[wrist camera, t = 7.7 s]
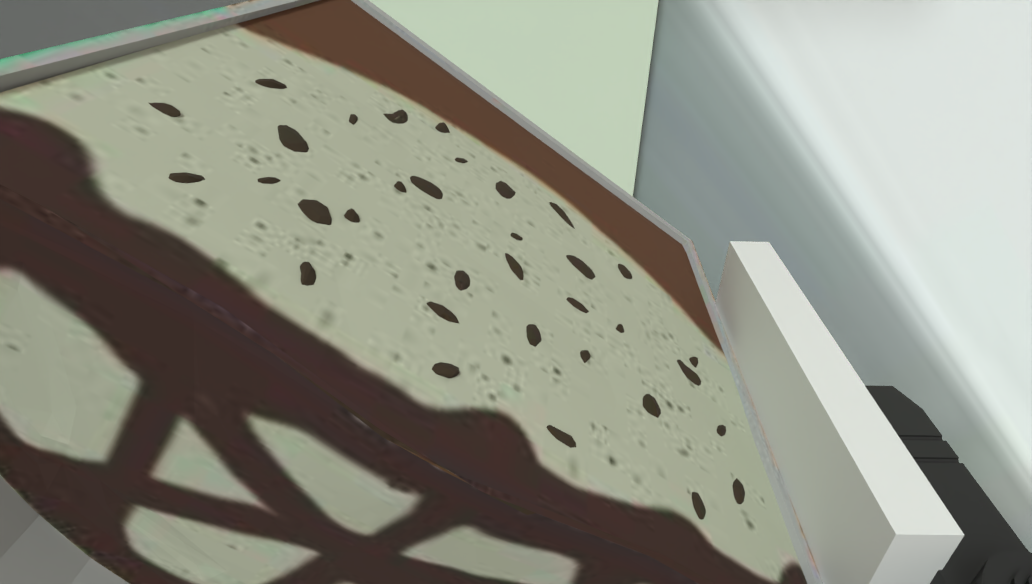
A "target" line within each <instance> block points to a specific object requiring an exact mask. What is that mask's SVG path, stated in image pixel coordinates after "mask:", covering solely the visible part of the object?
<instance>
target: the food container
mask: <svg viewBox="0 0 1032 584" xmlns="http://www.w3.org/2000/svg"><path fill="white" fill-rule="evenodd" d="M715 304H716V302H715V299H714V297H713V294H712V291H711V289H710V286H709V284H708V281H707V278H706V276H705V273H704V271H703V268H702V265H701V263H700V260H699V258H698V255H697V252H696V250H695V247H694V244H693V242H692V240H690V239H689V238H688V237H686V236H685V235H684V234H682V233H681V232H680V231H678V230H677V229H675V228H674V227H673V226H671V225H670V224H669V223H667V222H666V221H665V220H663V219H662V218H661V217H659V216H658V215H657V214H655V213H654V212H653V211H651V210H650V209H649V208H647V207H646V206H645V205H643V204H642V203H641V202H639V201H638V200H636V199H635V198H634V197H632V196H631V195H630V194H628V193H627V192H626V191H624V190H623V189H622V188H620V187H619V186H618V185H616V184H615V183H614V182H612V181H611V180H610V179H608V178H607V177H606V176H604V175H603V174H602V173H600V172H599V171H598V170H596V169H595V168H593V167H592V166H591V165H589V164H588V163H587V162H585V161H584V160H583V159H581V158H580V157H579V156H577V155H576V154H575V153H573V152H572V151H571V150H569V149H568V148H567V147H565V146H564V145H563V144H561V143H560V142H559V141H557V140H556V139H554V138H553V137H552V136H550V135H549V134H548V133H546V132H545V131H544V130H542V129H541V128H540V127H538V126H537V125H536V124H534V123H533V122H532V121H530V120H529V119H528V118H526V117H525V116H524V115H522V114H521V113H520V112H518V111H517V110H515V109H514V108H513V107H511V106H510V105H509V104H507V103H506V102H505V101H503V100H502V99H501V98H499V97H498V96H497V95H495V94H494V93H493V92H491V91H490V90H489V89H487V88H486V87H485V86H483V85H482V84H481V83H479V82H478V81H477V80H475V79H474V78H472V77H471V76H470V75H468V74H467V73H466V72H464V71H463V70H462V69H460V68H459V67H458V66H456V65H455V64H454V63H452V62H451V61H450V60H448V59H447V58H446V57H444V56H443V55H442V54H440V53H439V52H438V51H436V50H435V49H433V48H432V47H431V46H429V45H428V44H427V43H425V42H424V41H423V40H421V39H420V38H419V37H417V36H416V35H415V34H413V33H412V32H411V31H409V30H408V29H407V28H405V27H404V26H403V25H401V24H400V23H399V22H397V21H396V20H394V19H393V18H392V17H390V16H389V15H388V14H386V13H385V12H384V11H382V10H381V9H380V8H378V7H377V6H376V5H374V4H373V3H372V2H370V1H369V0H250V1H246V2H241V3H237V4H233V5H229V6H224V7H220V8H216V9H212V10H207V11H203V12H199V13H195V14H190V15H186V16H182V17H178V18H173V19H169V20H165V21H161V22H156V23H152V24H148V25H144V26H139V27H135V28H131V29H127V30H122V31H118V32H114V33H110V34H105V35H101V36H97V37H93V38H88V39H84V40H80V41H75V42H71V43H67V44H63V45H58V46H54V47H50V48H46V49H41V50H37V51H33V52H29V53H24V54H20V55H16V56H12V57H7V58H3V59H0V584H823V582H822V579H821V577H820V574H819V571H818V569H817V566H816V564H815V561H814V559H813V556H812V553H811V551H810V548H809V546H808V543H807V540H806V538H805V535H804V533H803V530H802V528H801V525H800V522H799V520H798V517H797V515H796V512H795V509H794V507H793V504H792V502H791V499H790V497H789V494H788V491H787V489H786V486H785V484H784V481H783V478H782V476H781V473H780V471H779V468H778V466H777V463H776V460H775V458H774V455H773V453H772V450H771V447H770V445H769V442H768V440H767V437H766V434H765V432H764V429H763V427H762V424H761V422H760V419H759V416H758V414H757V411H756V409H755V406H754V403H753V401H752V398H751V396H750V393H749V391H748V388H747V385H746V383H745V380H744V378H743V375H742V372H741V370H740V367H739V365H738V362H737V360H736V357H735V354H734V352H733V349H732V347H731V344H730V341H729V339H728V336H727V334H726V331H725V329H724V326H723V323H722V321H721V318H720V316H719V313H718V310H717V308H716V305H715Z"/></svg>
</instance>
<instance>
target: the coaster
mask: <svg viewBox="0 0 1032 584" xmlns="http://www.w3.org/2000/svg"><path fill="white" fill-rule="evenodd" d="M369 1H370V2H372V3H373V4H374V5H376V6H377V7H378V8H380V9H381V10H382V11H384V12H385V13H386V14H388V15H389V16H390V17H392V18H393V19H394V20H396V21H397V22H399V23H400V24H401V25H403V26H404V27H405V28H407V29H408V30H409V31H411V32H412V33H413V34H415V35H416V36H417V37H419V38H420V39H421V40H423V41H424V42H425V43H427V44H428V45H429V46H431V47H432V48H433V49H435V50H436V51H438V52H439V53H440V54H442V55H443V56H444V57H446V58H447V59H448V60H450V61H451V62H452V63H454V64H455V65H456V66H458V67H459V68H460V69H462V70H463V71H464V72H466V73H467V74H468V75H470V76H471V77H472V78H474V79H475V80H477V81H478V82H479V83H481V84H482V85H483V86H485V87H486V88H487V89H489V90H490V91H491V92H493V93H494V94H495V95H497V96H498V97H499V98H501V99H502V100H503V101H505V102H506V103H507V104H509V105H510V106H511V107H513V108H514V109H515V110H517V111H518V112H520V113H521V114H522V115H524V116H525V117H526V118H528V119H529V120H530V121H532V122H533V123H534V124H536V125H537V126H538V127H540V128H541V129H542V130H544V131H545V132H546V133H548V134H549V135H550V136H552V137H553V138H554V139H556V140H557V141H559V142H560V143H561V144H563V145H564V146H565V147H567V148H568V149H569V150H571V151H572V152H573V153H575V154H576V155H577V156H579V157H580V158H581V159H583V160H584V161H585V162H587V163H588V164H589V165H591V166H592V167H593V168H595V169H596V170H598V171H599V172H600V173H602V174H603V175H604V176H606V177H607V178H608V179H610V180H611V181H612V182H614V183H615V184H616V185H618V186H619V187H620V188H622V189H623V190H624V191H626V192H627V193H628V194H630V195H631V196H632V197H633V190H634V183H635V175H636V167H637V160H638V152H639V145H640V137H641V129H642V122H643V114H644V107H645V99H646V91H647V84H648V76H649V69H650V61H651V54H652V46H653V38H654V31H655V23H656V16H657V8H658V0H369Z"/></svg>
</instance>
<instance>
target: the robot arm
mask: <svg viewBox="0 0 1032 584" xmlns="http://www.w3.org/2000/svg"><path fill="white" fill-rule="evenodd" d="M715 305H716V308H717V310H718V313H719V316H720V318H721V321H722V323H723V326H724V329H725V331H726V334H727V336H728V339H729V341H730V344H731V347H732V349H733V352H734V354H735V357H736V360H737V362H738V365H739V367H740V370H741V372H742V375H743V378H744V380H745V383H746V385H747V388H748V391H749V393H750V396H751V398H752V401H753V403H754V406H755V409H756V411H757V414H758V416H759V419H760V422H761V424H762V427H763V429H764V432H765V434H766V437H767V440H768V442H769V445H770V447H771V450H772V453H773V455H774V458H775V460H776V463H777V466H778V468H779V471H780V473H781V476H782V478H783V481H784V484H785V486H786V489H787V491H788V494H789V497H790V499H791V502H792V504H793V507H794V509H795V512H796V515H797V517H798V520H799V522H800V525H801V528H802V530H803V533H804V535H805V538H806V540H807V543H808V546H809V548H810V551H811V553H812V556H813V559H814V561H815V564H816V566H817V569H818V571H819V574H820V577H821V579H822V582H823V584H1032V553H1030V552H1029V551H1028V550H1027V549H1026V548H1025V546H1024V545H1023V544H1022V542H1021V541H1020V540H1019V538H1018V537H1017V535H1016V534H1015V533H1014V531H1013V530H1012V529H1011V527H1010V526H1009V525H1008V523H1007V522H1006V521H1005V519H1004V518H1003V517H1002V515H1001V514H1000V513H999V511H998V510H997V509H996V507H995V506H994V505H993V503H992V502H991V501H990V499H989V498H988V497H987V495H986V494H985V492H984V491H983V490H982V488H981V487H980V486H979V484H978V483H977V482H976V480H975V479H974V478H973V476H972V475H971V474H970V472H969V471H968V470H967V468H966V467H965V466H964V464H963V463H959V462H958V456H957V455H956V454H955V452H954V451H953V449H952V448H951V447H950V445H949V444H948V443H947V441H943V440H942V435H941V433H940V432H939V431H938V429H937V428H936V427H935V425H934V424H933V423H932V421H931V420H930V419H929V417H928V416H927V415H926V413H925V412H924V410H923V409H922V408H920V407H919V406H918V405H917V404H915V403H914V402H913V401H911V400H910V399H909V398H907V397H906V396H905V395H904V394H902V393H901V392H900V391H898V390H897V389H896V388H894V387H893V386H865V385H864V384H863V382H862V381H861V379H860V378H859V376H858V375H857V373H856V372H855V370H854V369H853V367H852V366H851V364H850V363H849V361H848V360H847V358H846V357H845V355H844V354H843V352H842V351H841V349H840V348H839V346H838V345H837V343H836V342H835V340H834V339H833V337H832V336H831V334H830V333H829V331H828V330H827V328H826V327H825V325H824V324H823V322H822V321H821V319H820V318H819V316H818V315H817V313H816V312H815V310H814V309H813V307H812V306H811V304H810V303H809V301H808V300H807V298H806V297H805V295H804V294H803V292H802V291H801V289H800V288H799V286H798V285H797V283H796V282H795V280H794V279H793V277H792V276H791V274H790V273H789V271H788V270H787V268H786V267H785V265H784V264H783V262H782V261H781V259H780V258H779V256H778V255H777V253H776V252H775V250H774V249H773V247H772V246H771V244H770V243H769V242H736V241H730V243H729V248H728V252H727V256H726V261H725V265H724V269H723V274H722V278H721V282H720V287H719V291H718V295H717V300H716V304H715Z"/></svg>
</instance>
